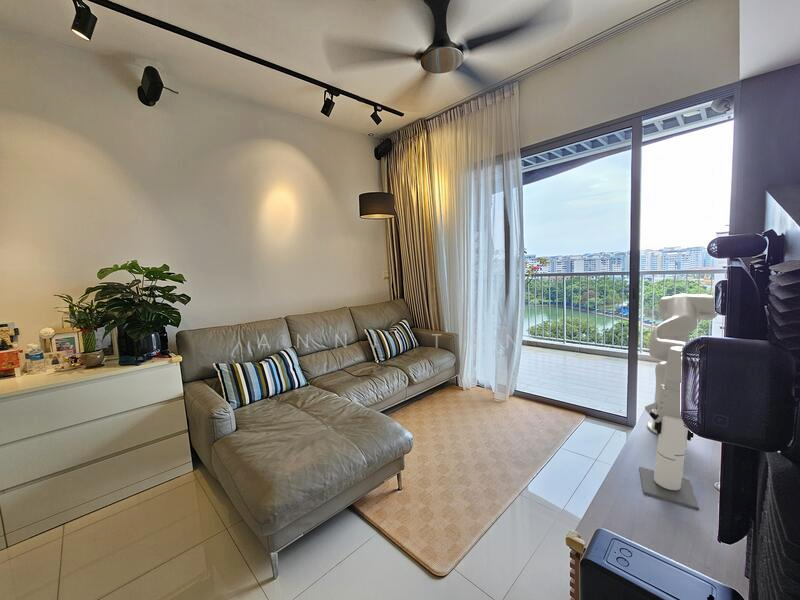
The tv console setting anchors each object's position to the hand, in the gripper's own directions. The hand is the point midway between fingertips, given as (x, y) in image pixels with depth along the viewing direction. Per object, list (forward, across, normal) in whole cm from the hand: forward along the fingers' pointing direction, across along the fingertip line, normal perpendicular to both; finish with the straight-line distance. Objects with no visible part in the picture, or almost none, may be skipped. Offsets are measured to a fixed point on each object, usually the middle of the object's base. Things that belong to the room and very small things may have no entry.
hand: (672, 434), depth 108 cm
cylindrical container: (+18, 0, 0) cm, 18 cm away
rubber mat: (+20, 0, 0) cm, 20 cm away
